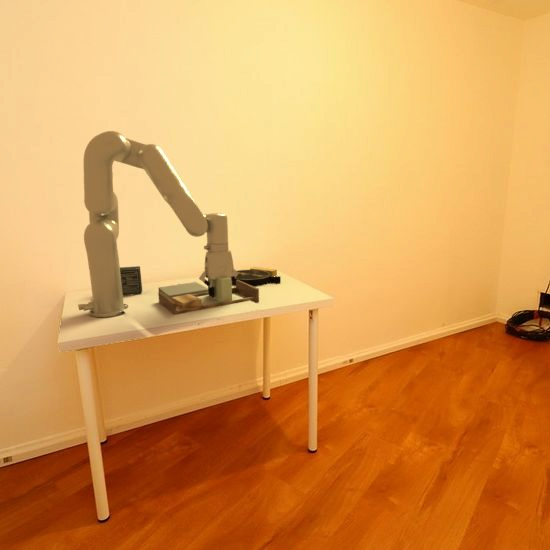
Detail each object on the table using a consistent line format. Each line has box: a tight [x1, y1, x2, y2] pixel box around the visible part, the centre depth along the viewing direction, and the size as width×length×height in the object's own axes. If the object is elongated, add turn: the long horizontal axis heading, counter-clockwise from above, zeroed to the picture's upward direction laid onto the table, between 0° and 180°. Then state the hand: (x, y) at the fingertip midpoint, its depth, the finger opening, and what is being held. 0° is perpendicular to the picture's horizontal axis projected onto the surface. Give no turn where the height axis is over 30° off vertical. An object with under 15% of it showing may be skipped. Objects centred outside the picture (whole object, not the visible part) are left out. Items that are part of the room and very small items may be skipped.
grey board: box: [157, 281, 208, 298], centre depth 153 cm, size 16×14×2 cm
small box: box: [120, 265, 143, 296], centre depth 155 cm, size 11×6×10 cm, turn 104°
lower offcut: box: [176, 305, 204, 310], centre depth 137 cm, size 8×10×2 cm
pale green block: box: [213, 277, 233, 303], centre depth 143 cm, size 4×12×10 cm, turn 33°
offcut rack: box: [157, 280, 260, 316], centre depth 141 cm, size 32×16×5 cm, turn 123°
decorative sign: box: [232, 266, 282, 287], centre depth 177 cm, size 29×3×25 cm
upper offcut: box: [172, 294, 202, 309], centre depth 137 cm, size 7×9×2 cm
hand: (220, 294), depth 143 cm, fingers open, 5 cm apart
